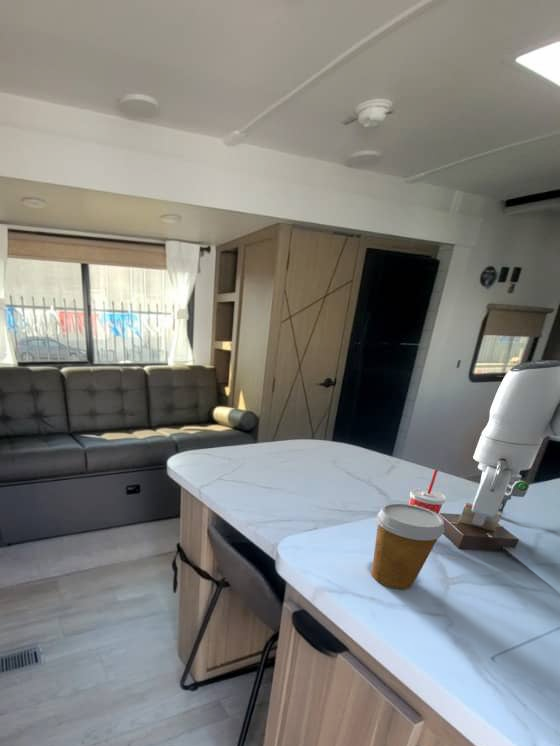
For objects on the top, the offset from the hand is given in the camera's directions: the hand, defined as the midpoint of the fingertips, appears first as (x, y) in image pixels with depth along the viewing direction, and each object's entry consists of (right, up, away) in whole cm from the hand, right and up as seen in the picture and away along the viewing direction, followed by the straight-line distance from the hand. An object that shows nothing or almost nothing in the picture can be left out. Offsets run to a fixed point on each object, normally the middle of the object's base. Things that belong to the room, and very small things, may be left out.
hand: (478, 520), depth 80 cm
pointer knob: (0, -1, 0) cm, 1 cm away
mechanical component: (+13, +1, +12) cm, 18 cm away
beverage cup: (-11, -3, +2) cm, 12 cm away
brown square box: (0, -4, +2) cm, 4 cm away
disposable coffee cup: (-24, -10, -12) cm, 28 cm away
